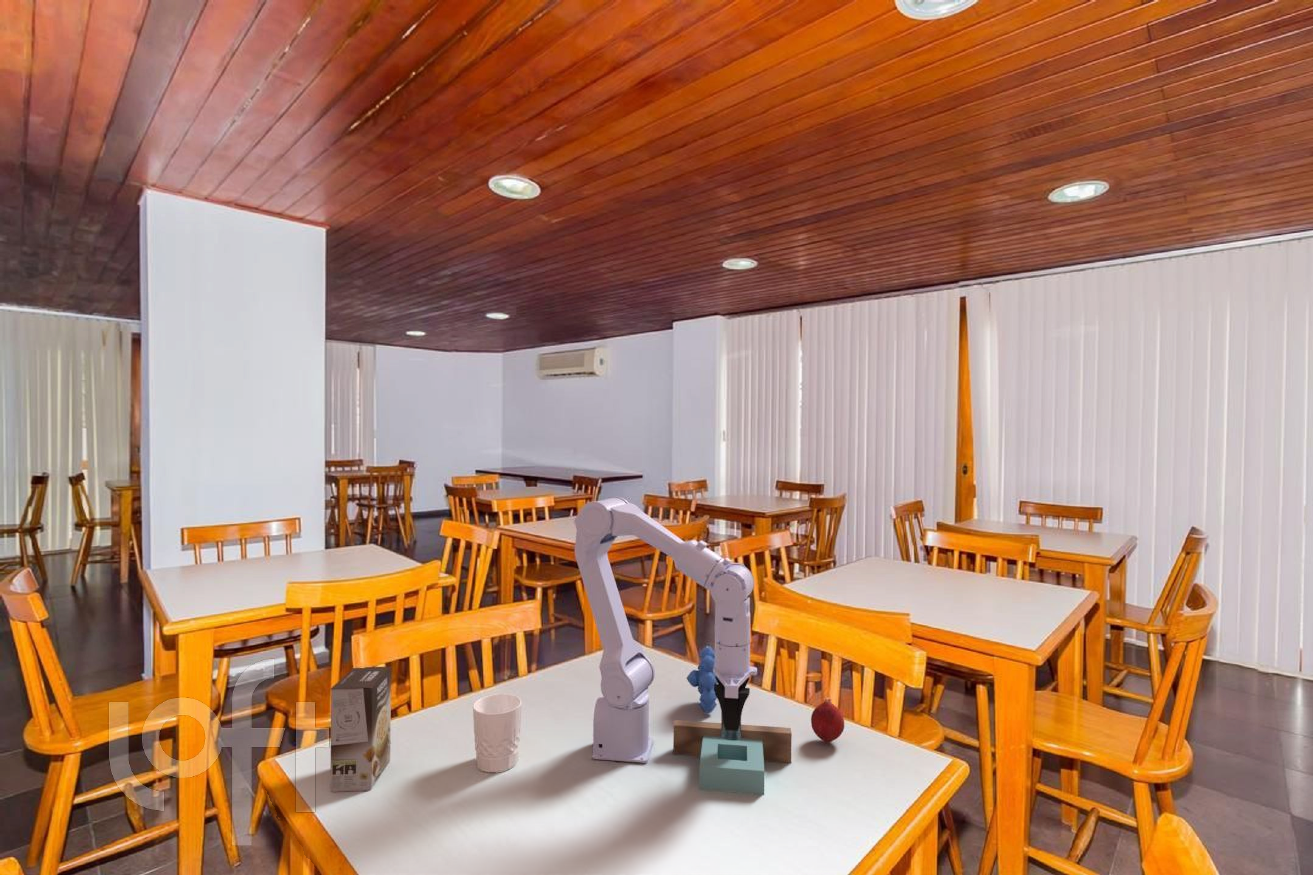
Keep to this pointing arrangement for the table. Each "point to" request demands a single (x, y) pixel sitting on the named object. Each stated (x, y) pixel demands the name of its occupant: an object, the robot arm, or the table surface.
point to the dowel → (730, 732)
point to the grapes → (705, 679)
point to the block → (732, 765)
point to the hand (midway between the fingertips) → (731, 723)
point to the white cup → (497, 731)
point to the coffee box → (360, 728)
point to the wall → (773, 738)
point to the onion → (827, 721)
